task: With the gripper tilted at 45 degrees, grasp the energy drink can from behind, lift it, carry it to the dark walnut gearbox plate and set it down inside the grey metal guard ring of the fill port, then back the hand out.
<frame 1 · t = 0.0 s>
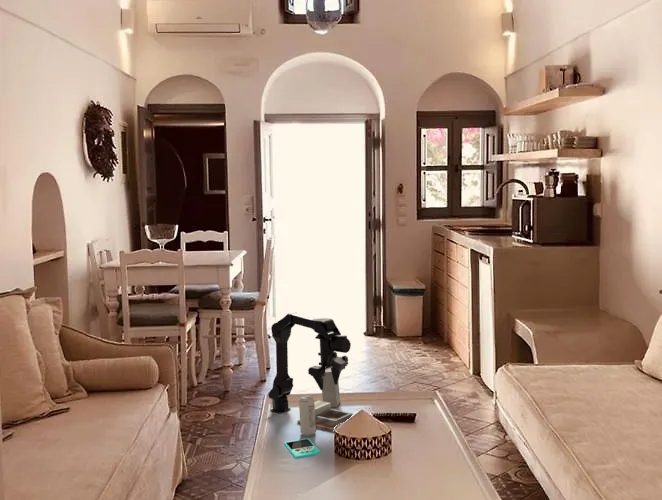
hand: (328, 387, 302), 15 cm above the table, tool pointing down, fingers open, 9 cm apart
energy drink can: (308, 434, 290), on the table
skincare box: (331, 404, 327), on the table
handheld game console: (301, 450, 275), on the table
port plate: (328, 422, 303), on the table
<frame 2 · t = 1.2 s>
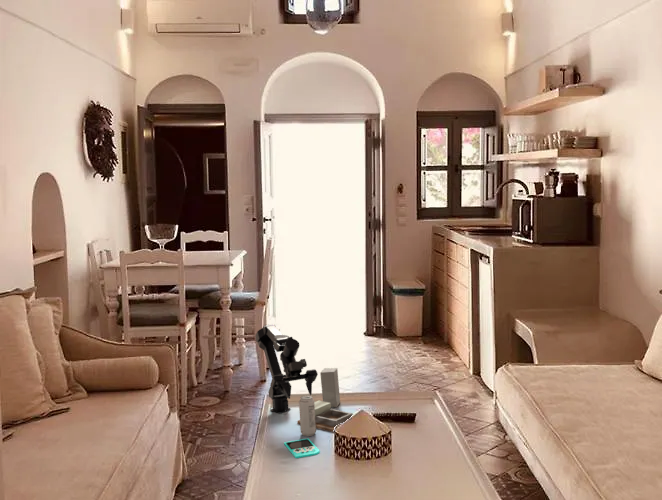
hand: (300, 396, 296), 13 cm above the table, tool tilted 45°, fingers open, 9 cm apart
nothing on the table moved.
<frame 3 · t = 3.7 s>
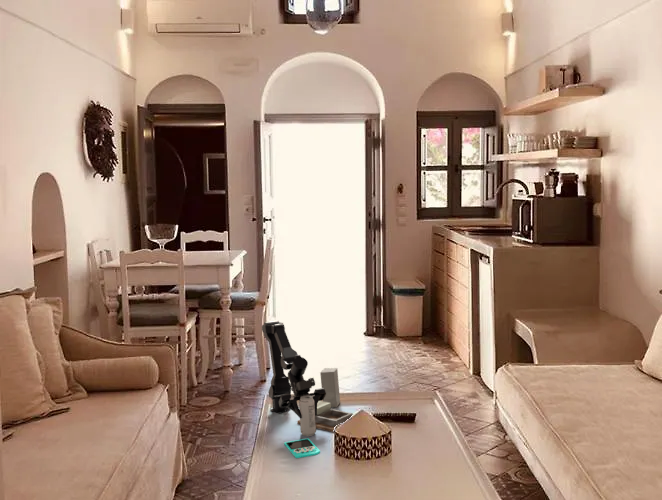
hand: (308, 416, 288), 8 cm above the table, tool tilted 45°, fingers closed on energy drink can, 6 cm apart
energy drink can: (308, 434, 290), on the table, touching gripper
everything else where it was.
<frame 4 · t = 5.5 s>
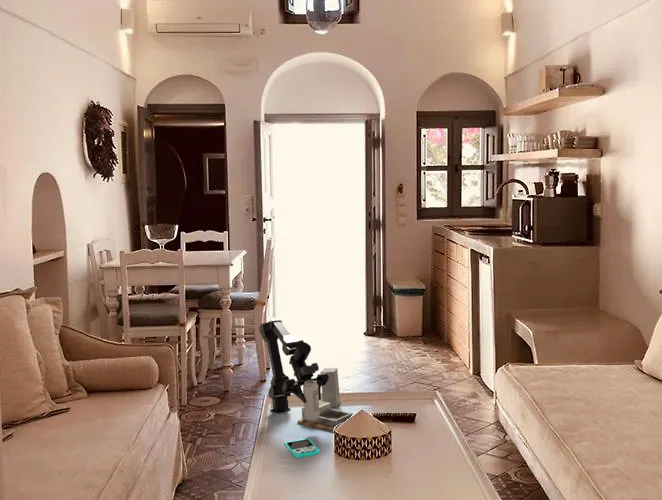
hand: (312, 401, 289), 13 cm above the table, tool tilted 45°, fingers closed on energy drink can, 6 cm apart
energy drink can: (312, 419, 291), point 5 cm above the table, touching gripper
everything else where it was.
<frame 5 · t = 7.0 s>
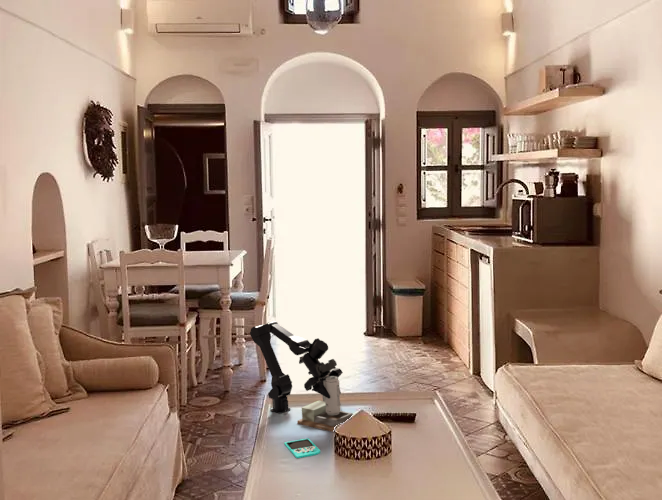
hand: (335, 395, 299), 12 cm above the table, tool tilted 45°, fingers closed on energy drink can, 6 cm apart
energy drink can: (333, 413, 301), point 4 cm above the table, touching gripper
everything else where it was.
when the fingers open (10 cm above the table, at t = 7.8 s): energy drink can stays where it is, resting on port plate.
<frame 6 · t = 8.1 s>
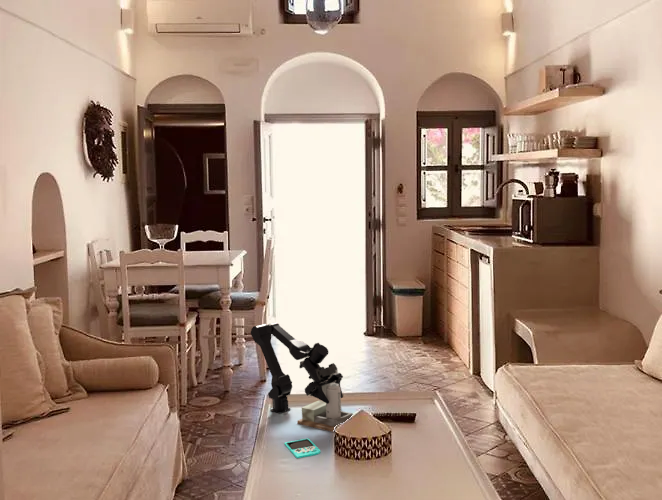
hand: (335, 400, 299), 10 cm above the table, tool tilted 45°, fingers open, 8 cm apart
energy drink can: (333, 420, 301), point 1 cm above the table, touching port plate
everything else where it was.
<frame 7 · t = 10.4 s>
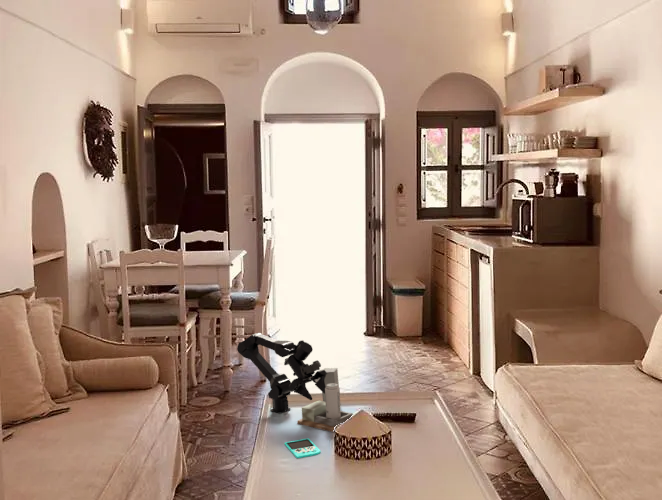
hand: (319, 396, 305), 10 cm above the table, tool tilted 45°, fingers open, 9 cm apart
nothing on the table moved.
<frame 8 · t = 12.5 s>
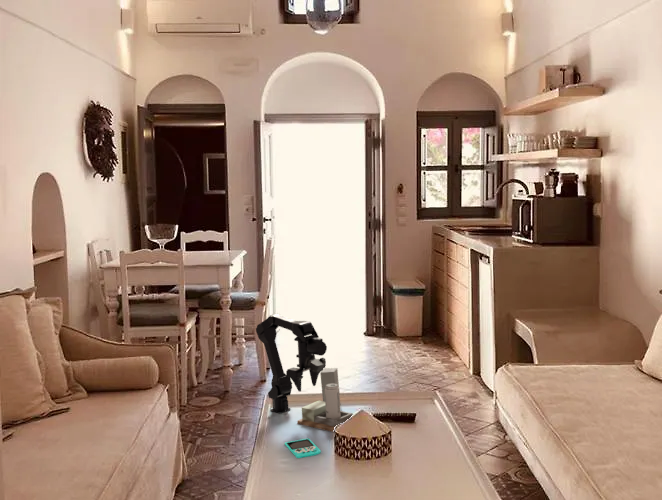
hand: (307, 388, 307), 13 cm above the table, tool pointing down, fingers open, 9 cm apart
nothing on the table moved.
at the end: energy drink can 0.2 cm from the target spot on the port plate, point 1.0 cm above the port plate's base; energy drink can tilted 0°; the gripper is holding nothing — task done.
